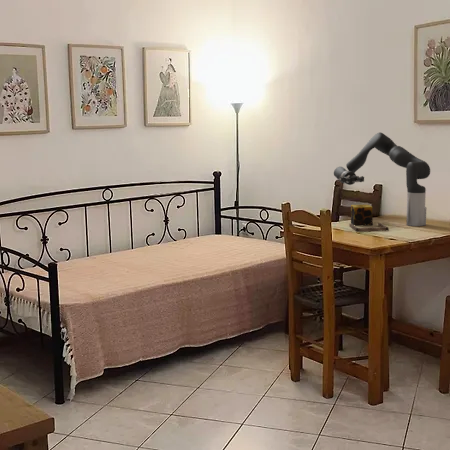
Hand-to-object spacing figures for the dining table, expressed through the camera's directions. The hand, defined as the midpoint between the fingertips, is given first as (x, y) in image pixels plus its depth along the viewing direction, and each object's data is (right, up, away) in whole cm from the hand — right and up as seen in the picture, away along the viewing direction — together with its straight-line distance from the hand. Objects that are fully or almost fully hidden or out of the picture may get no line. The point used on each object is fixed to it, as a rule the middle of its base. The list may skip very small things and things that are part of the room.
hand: (355, 180), depth 383 cm
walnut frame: (+2, -26, -25) cm, 36 cm away
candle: (+1, -24, -11) cm, 27 cm away
